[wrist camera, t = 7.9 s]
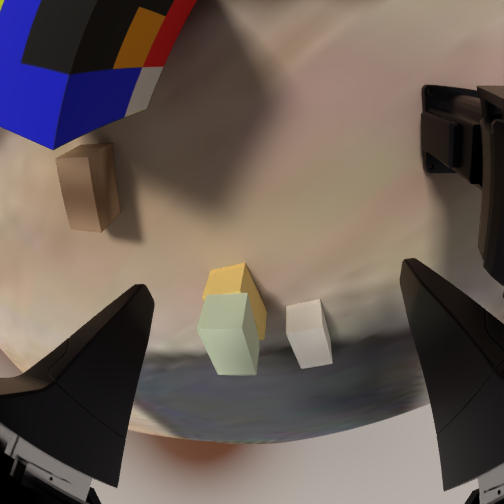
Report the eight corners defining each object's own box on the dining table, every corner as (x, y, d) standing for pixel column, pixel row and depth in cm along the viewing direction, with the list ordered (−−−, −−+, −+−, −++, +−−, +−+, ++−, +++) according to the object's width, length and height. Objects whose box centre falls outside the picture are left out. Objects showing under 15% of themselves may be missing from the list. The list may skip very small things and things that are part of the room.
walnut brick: (81, 144, 19) (55, 158, 16) (113, 142, 19) (87, 156, 16) (92, 208, 23) (70, 229, 20) (121, 210, 23) (101, 232, 20)
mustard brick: (210, 269, 25) (201, 297, 22) (245, 262, 24) (239, 290, 21) (235, 315, 28) (230, 343, 25) (266, 310, 27) (264, 339, 25)
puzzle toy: (146, 109, 17) (53, 150, 9) (51, 77, 16) (-45, 107, 7) (206, -16, 12) (142, -75, 4) (94, -32, 10) (2, -52, 2)
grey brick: (286, 304, 27) (285, 333, 24) (319, 297, 26) (322, 326, 23) (300, 342, 30) (301, 368, 27) (329, 336, 29) (332, 363, 26)
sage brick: (206, 294, 22) (196, 329, 19) (247, 292, 21) (242, 328, 19) (224, 342, 25) (218, 374, 22) (259, 341, 25) (256, 375, 22)
